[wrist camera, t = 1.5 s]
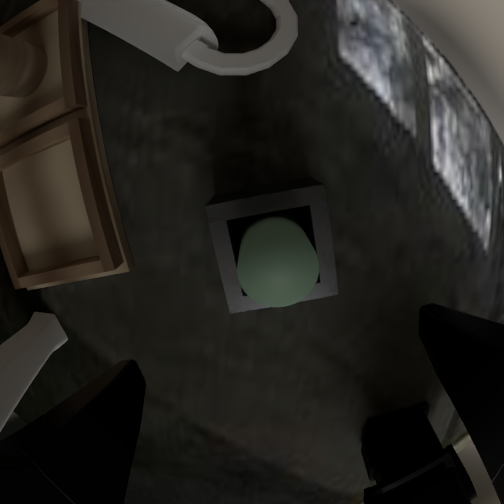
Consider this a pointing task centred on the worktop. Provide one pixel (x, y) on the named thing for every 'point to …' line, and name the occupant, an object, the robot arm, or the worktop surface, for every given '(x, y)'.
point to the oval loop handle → (188, 34)
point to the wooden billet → (20, 67)
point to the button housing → (263, 201)
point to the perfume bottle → (26, 358)
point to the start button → (276, 261)
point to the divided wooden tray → (57, 162)
